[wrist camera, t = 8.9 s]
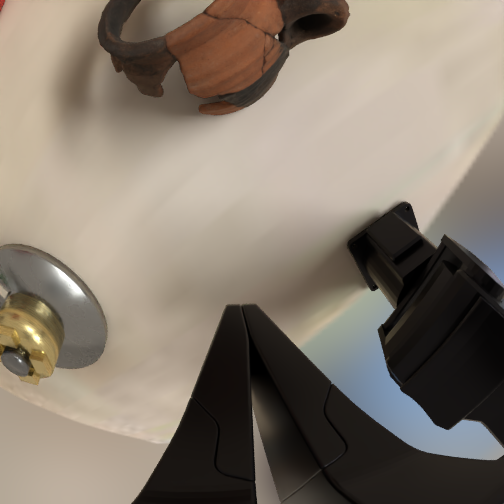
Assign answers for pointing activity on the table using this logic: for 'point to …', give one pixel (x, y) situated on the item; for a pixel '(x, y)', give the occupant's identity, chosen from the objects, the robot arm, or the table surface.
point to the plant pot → (1, 3)
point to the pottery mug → (221, 46)
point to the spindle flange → (53, 306)
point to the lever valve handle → (31, 334)
